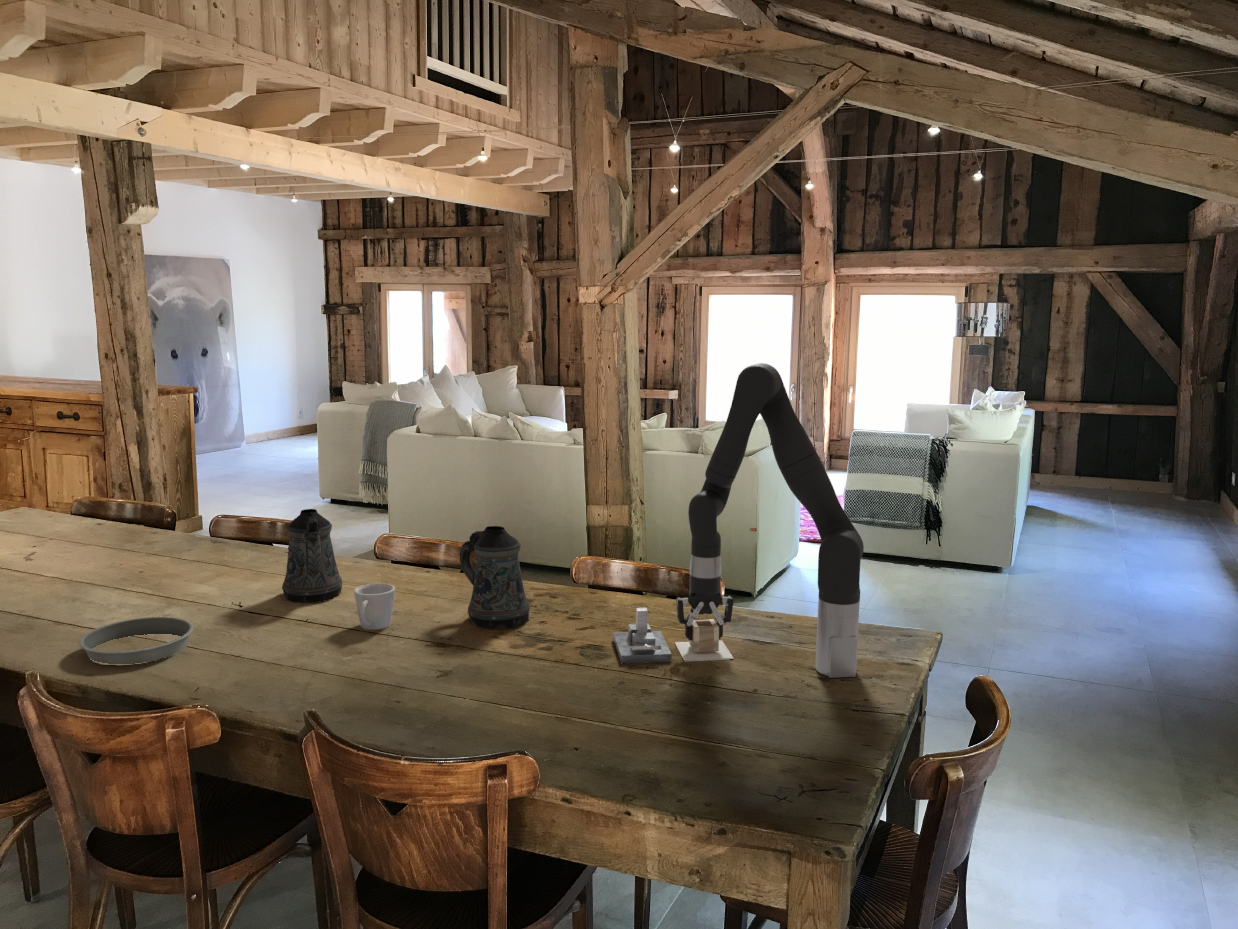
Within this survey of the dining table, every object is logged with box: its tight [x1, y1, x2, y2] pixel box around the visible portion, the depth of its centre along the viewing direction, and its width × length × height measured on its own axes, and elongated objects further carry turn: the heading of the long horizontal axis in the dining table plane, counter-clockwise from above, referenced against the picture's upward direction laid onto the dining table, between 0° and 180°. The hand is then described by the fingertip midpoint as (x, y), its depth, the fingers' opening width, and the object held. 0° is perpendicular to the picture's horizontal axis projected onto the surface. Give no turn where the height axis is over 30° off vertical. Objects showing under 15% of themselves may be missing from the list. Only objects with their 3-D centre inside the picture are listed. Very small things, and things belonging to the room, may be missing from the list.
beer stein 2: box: [459, 525, 531, 630], centre depth 249 cm, size 16×19×25 cm
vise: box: [612, 607, 673, 664], centre depth 228 cm, size 16×12×10 cm
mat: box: [674, 639, 734, 662], centre depth 229 cm, size 12×12×1 cm
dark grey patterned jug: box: [281, 508, 343, 604], centre depth 268 cm, size 16×19×25 cm
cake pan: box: [78, 616, 194, 664], centre depth 227 cm, size 25×25×4 cm
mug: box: [353, 582, 396, 631], centre depth 243 cm, size 10×15×10 cm
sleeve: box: [688, 618, 720, 652], centre depth 228 cm, size 6×6×6 cm
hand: (703, 638), depth 228 cm, fingers open, 6 cm apart
